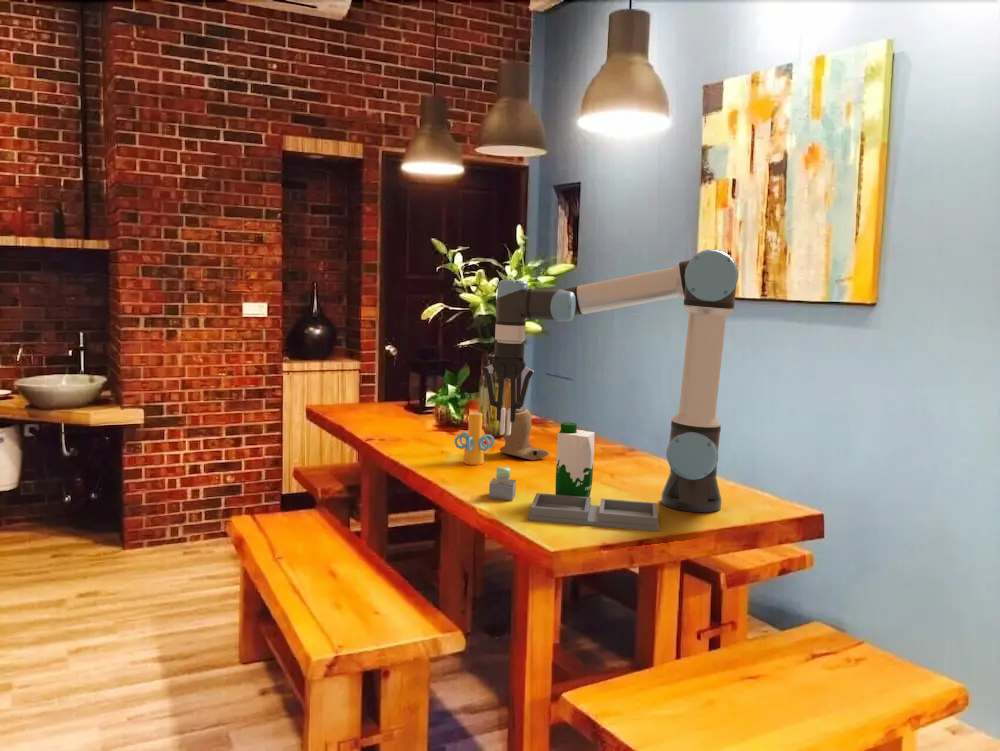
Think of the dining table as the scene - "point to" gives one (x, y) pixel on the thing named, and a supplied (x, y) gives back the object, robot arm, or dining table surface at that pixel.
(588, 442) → the soya milk
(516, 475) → the dining table surface
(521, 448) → the brown boot
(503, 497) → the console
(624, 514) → the pocket tray
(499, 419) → the robot arm
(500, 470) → the button
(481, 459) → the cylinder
